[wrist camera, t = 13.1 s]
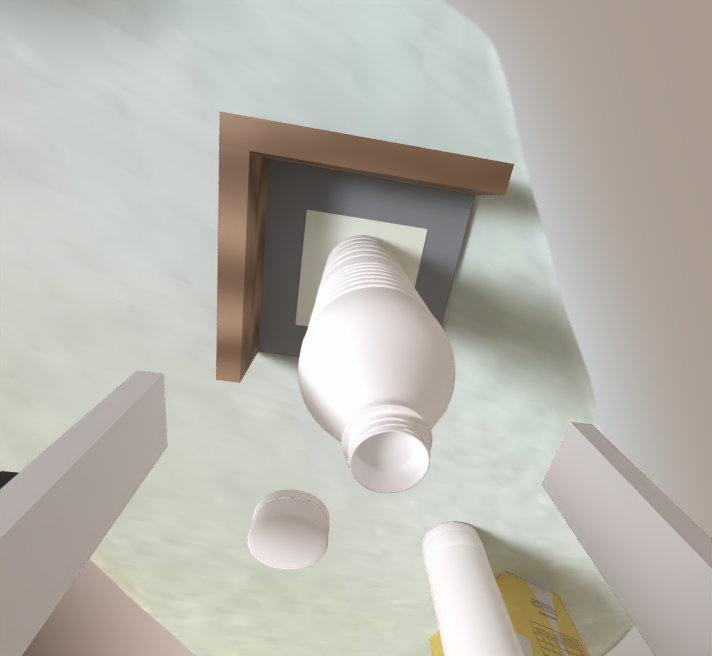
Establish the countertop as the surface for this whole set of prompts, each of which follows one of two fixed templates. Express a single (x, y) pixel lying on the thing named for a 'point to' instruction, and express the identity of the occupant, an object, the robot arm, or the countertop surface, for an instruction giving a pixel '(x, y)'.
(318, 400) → the water bottle
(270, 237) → the mat
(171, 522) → the countertop surface
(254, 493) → the countertop surface
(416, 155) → the corner walls
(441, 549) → the bottle
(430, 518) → the countertop surface
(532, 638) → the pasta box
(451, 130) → the countertop surface
